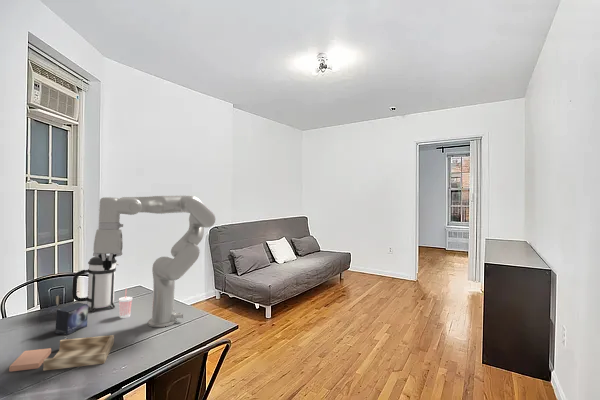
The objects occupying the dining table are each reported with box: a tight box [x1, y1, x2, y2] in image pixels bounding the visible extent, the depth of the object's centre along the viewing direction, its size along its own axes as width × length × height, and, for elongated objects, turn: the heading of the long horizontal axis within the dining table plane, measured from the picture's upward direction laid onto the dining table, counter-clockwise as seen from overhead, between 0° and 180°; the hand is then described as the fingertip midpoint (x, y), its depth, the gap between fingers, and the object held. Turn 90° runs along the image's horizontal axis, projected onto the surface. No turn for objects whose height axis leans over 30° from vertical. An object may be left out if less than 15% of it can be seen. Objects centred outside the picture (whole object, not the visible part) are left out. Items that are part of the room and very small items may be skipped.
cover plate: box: [8, 347, 52, 372], centre depth 112 cm, size 8×11×3 cm
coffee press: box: [71, 254, 120, 313], centre depth 167 cm, size 17×16×30 cm
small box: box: [54, 302, 89, 336], centre depth 140 cm, size 11×6×10 cm, turn 168°
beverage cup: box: [118, 287, 133, 319], centre depth 158 cm, size 6×6×14 cm
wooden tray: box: [42, 334, 115, 371], centre depth 117 cm, size 18×16×4 cm
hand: (107, 269), depth 134 cm, fingers closed
